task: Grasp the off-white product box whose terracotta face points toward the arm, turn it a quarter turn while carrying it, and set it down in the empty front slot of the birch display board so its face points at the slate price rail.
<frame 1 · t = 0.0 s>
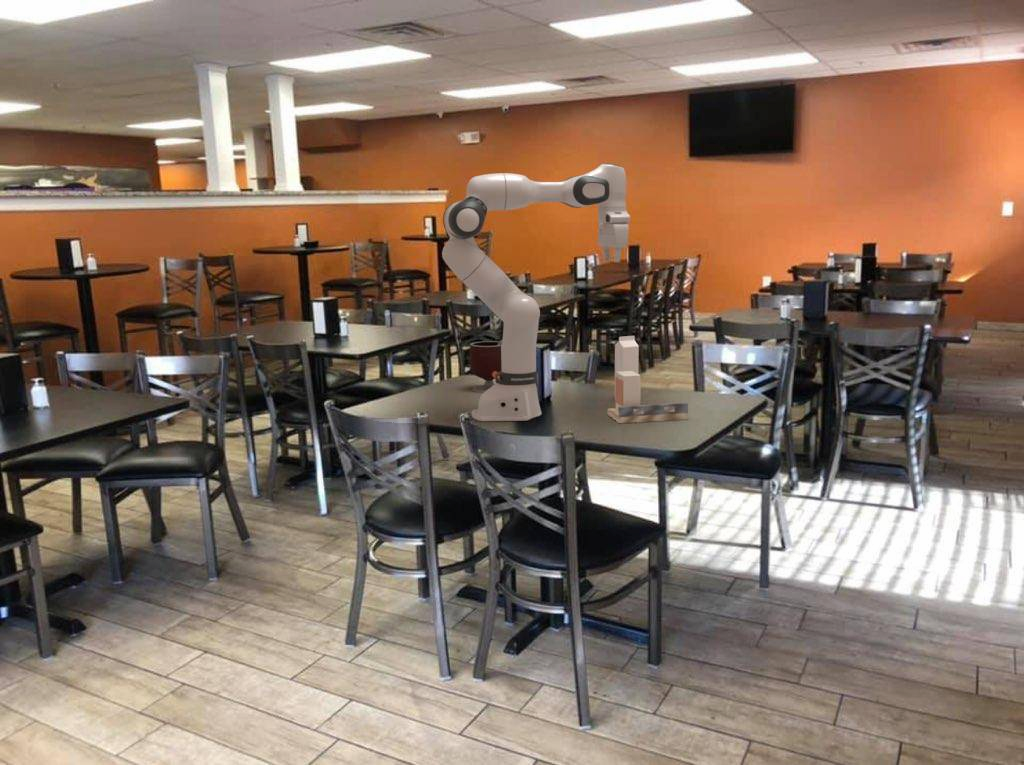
hand: (611, 261, 266), 48 cm above the table, fingers open, 8 cm apart
display board: (646, 416, 263), on the table
milk: (626, 400, 289), on the table
mate gourd: (491, 390, 310), on the table
product box: (618, 411, 262), point 2 cm above the table, touching display board
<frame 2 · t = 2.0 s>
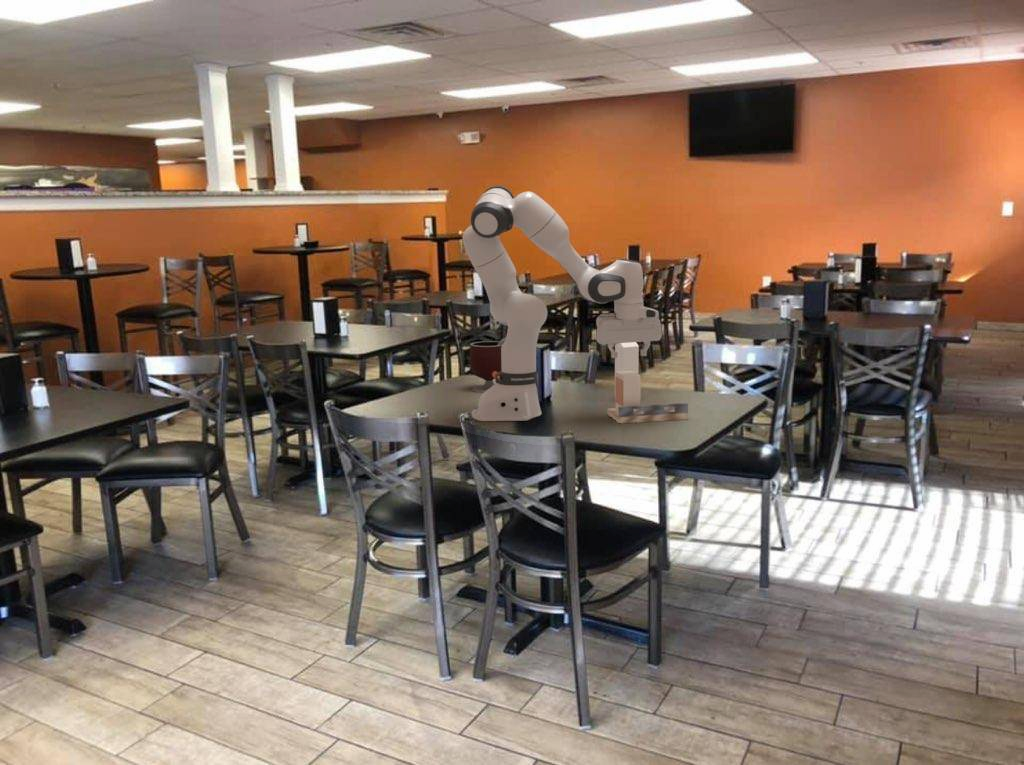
hand: (629, 356, 260), 19 cm above the table, fingers open, 8 cm apart
nothing on the table moved.
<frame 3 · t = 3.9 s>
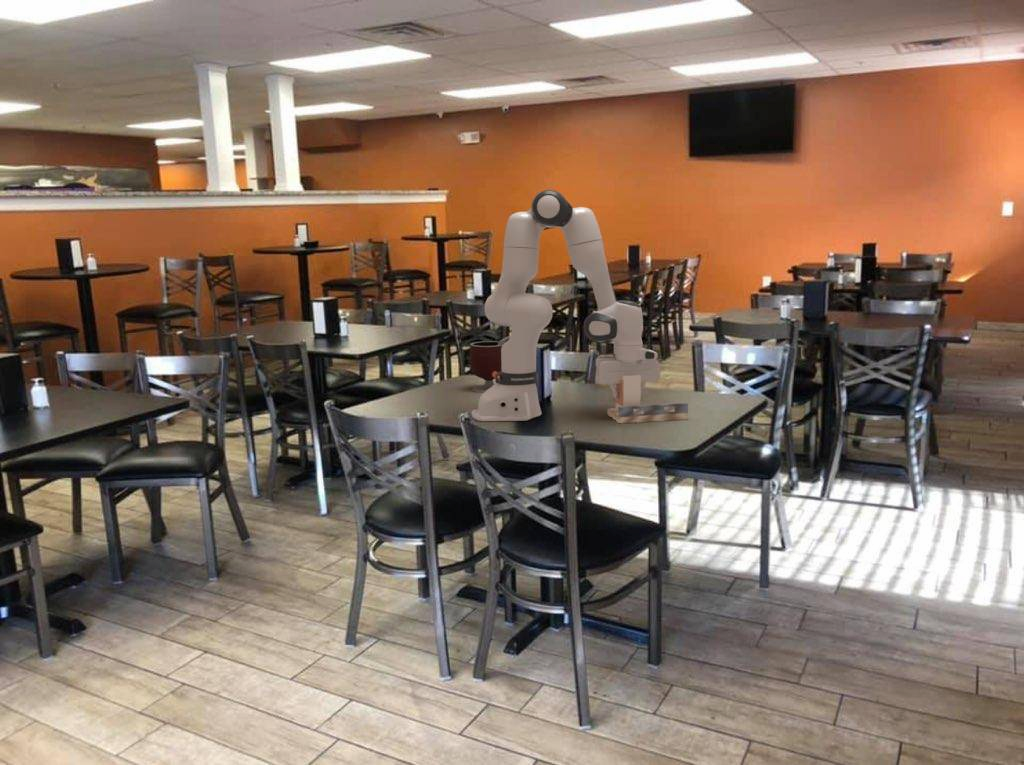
hand: (627, 396, 262), 7 cm above the table, fingers open, 6 cm apart
product box: (618, 411, 262), point 2 cm above the table, touching display board, gripper
everything else where it was.
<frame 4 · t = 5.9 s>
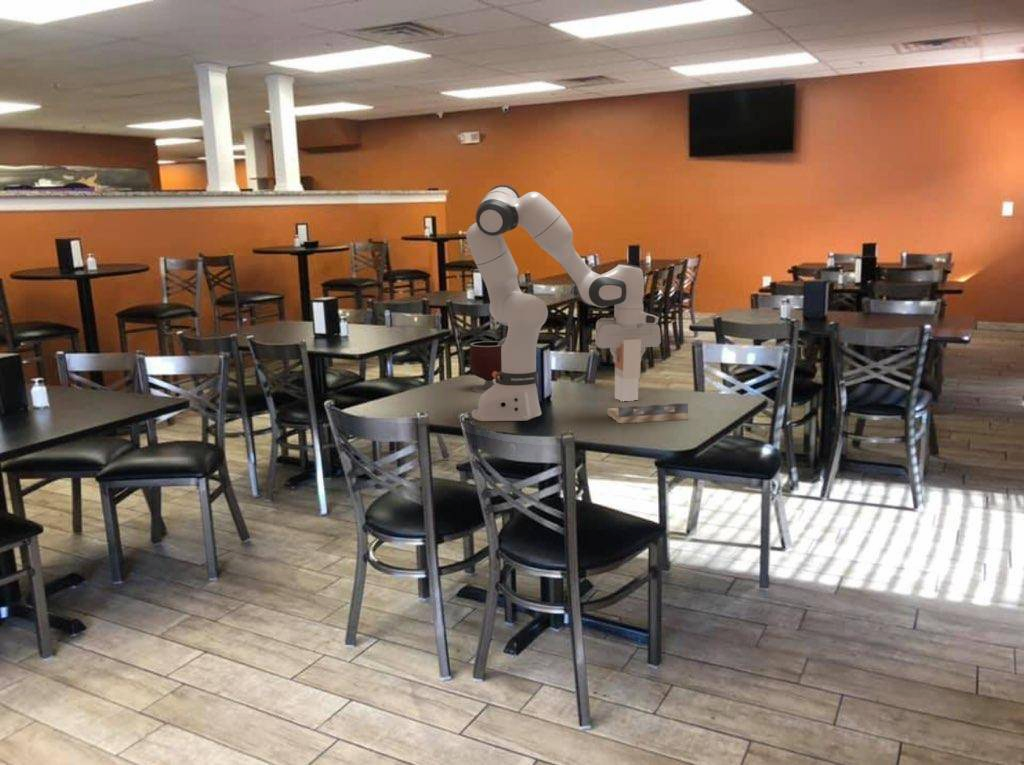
hand: (627, 361, 260), 18 cm above the table, fingers closed on product box, 6 cm apart
product box: (618, 376, 260), point 13 cm above the table, touching gripper
everything else where it was.
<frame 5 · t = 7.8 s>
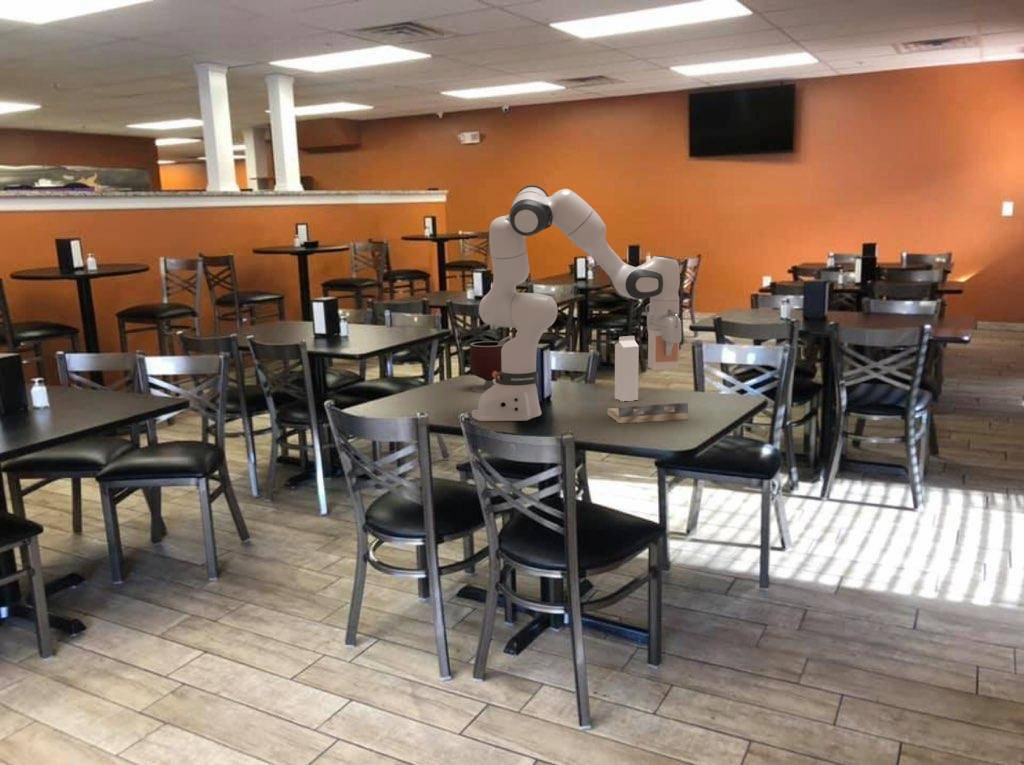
hand: (663, 353, 260), 20 cm above the table, fingers closed on product box, 6 cm apart
product box: (666, 369, 258), point 15 cm above the table, touching gripper
everything else where it was.
when the fingers open (8 cm above the table, at t = 10.7 s): product box drops 1 cm, resting on display board.
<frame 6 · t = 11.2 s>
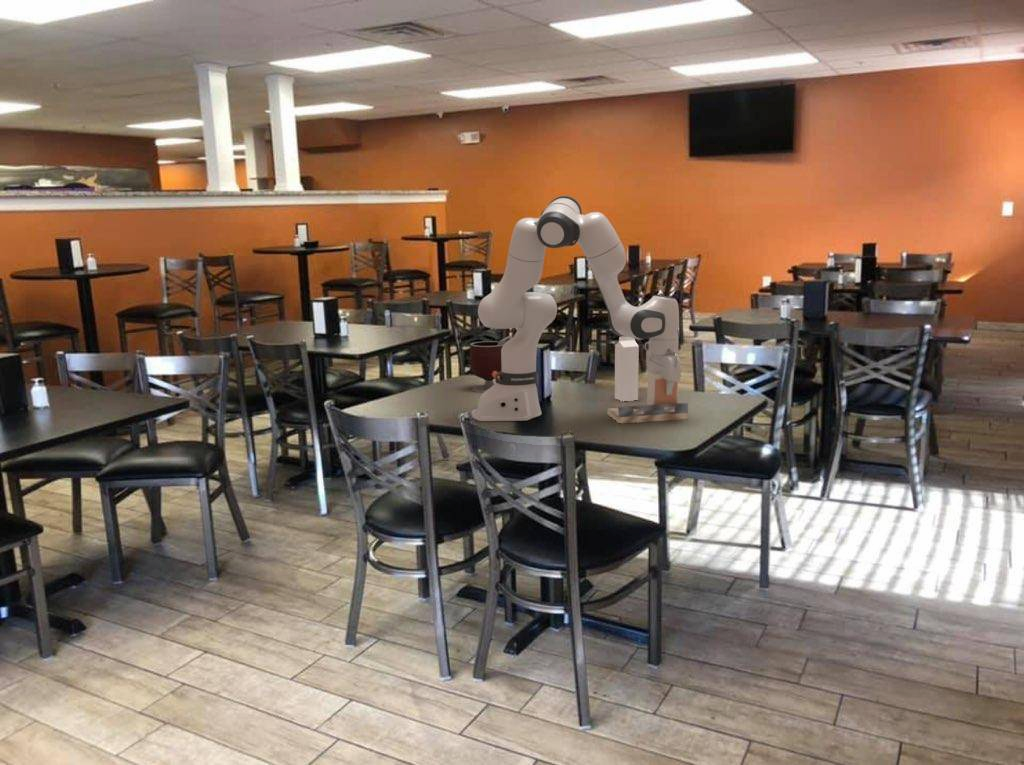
hand: (663, 391, 262), 8 cm above the table, fingers open, 8 cm apart
product box: (665, 412, 261), point 2 cm above the table, touching display board
everything else where it was.
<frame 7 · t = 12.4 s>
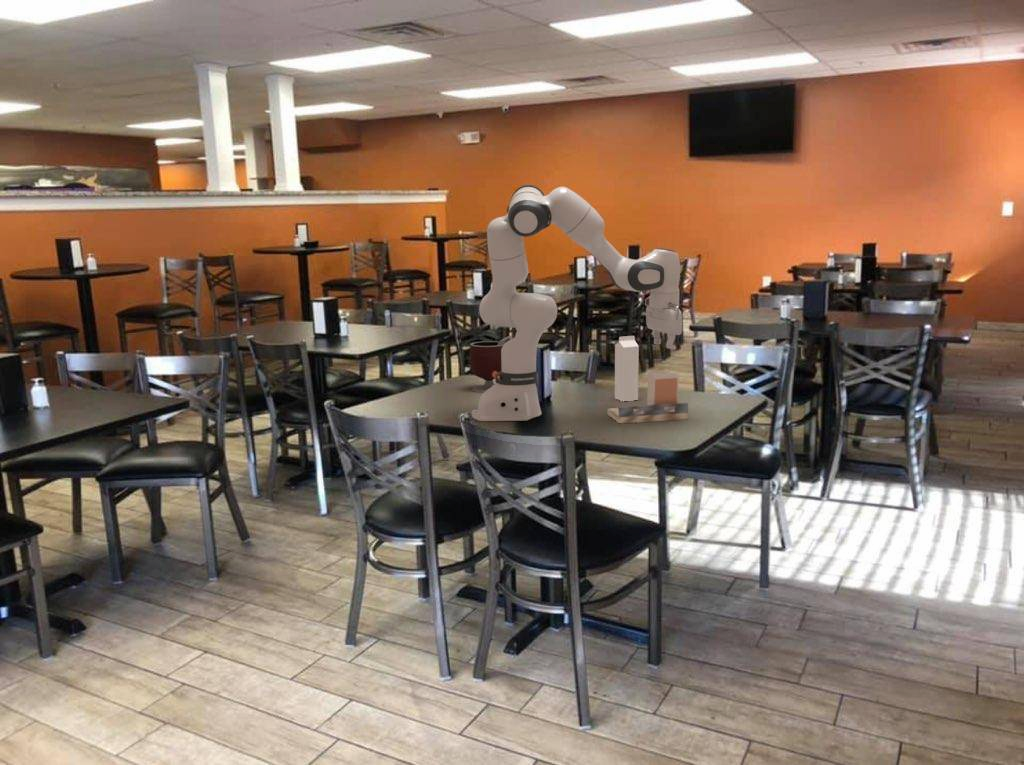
hand: (663, 346, 261), 22 cm above the table, fingers open, 8 cm apart
nothing on the table moved.
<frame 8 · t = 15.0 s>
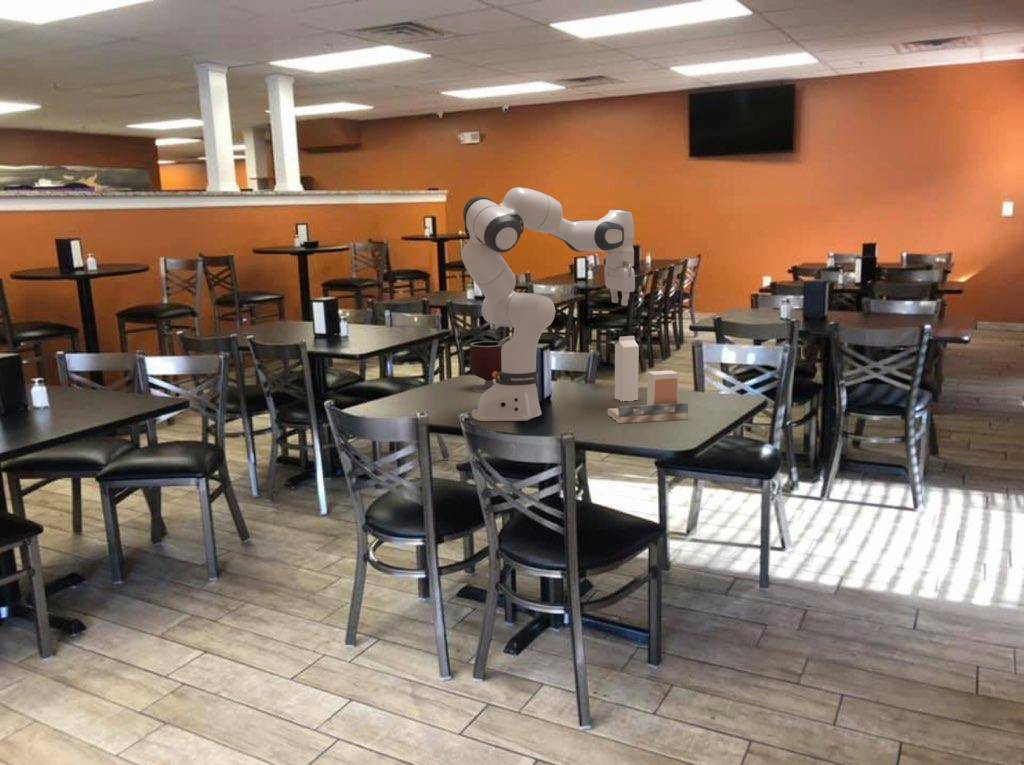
hand: (619, 304, 272), 34 cm above the table, fingers open, 8 cm apart
nothing on the table moved.
at the end: product box 0.4 cm from the target spot, point 2.0 cm above the table; product box tilted 0°; the gripper is holding nothing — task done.
